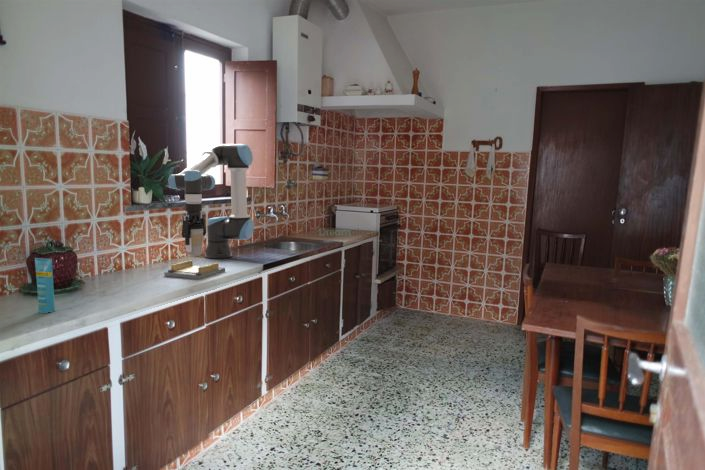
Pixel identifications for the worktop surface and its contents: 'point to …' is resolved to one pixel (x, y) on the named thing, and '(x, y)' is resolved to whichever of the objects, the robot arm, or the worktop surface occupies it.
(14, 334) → the worktop surface
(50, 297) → the tube
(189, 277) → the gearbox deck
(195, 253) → the coffee cup
